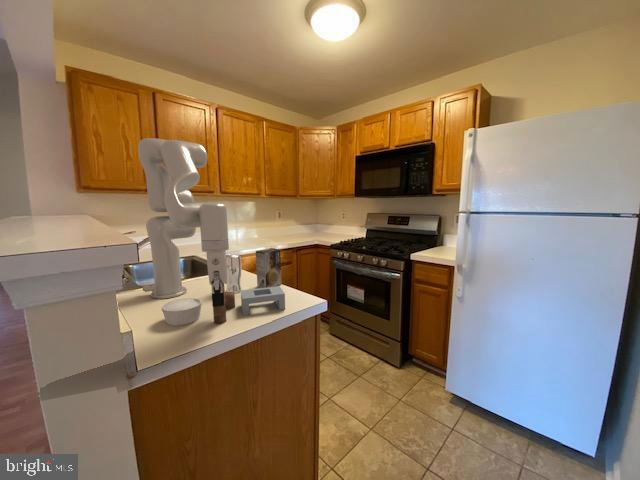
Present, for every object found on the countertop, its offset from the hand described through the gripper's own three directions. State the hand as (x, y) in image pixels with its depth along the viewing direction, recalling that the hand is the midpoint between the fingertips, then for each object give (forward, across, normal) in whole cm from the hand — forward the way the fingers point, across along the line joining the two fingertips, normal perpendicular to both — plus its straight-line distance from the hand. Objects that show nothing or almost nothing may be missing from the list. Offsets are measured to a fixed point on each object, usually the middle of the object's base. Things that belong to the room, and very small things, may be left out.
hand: (218, 300), depth 82 cm
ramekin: (+7, +6, +11) cm, 14 cm away
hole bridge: (+7, +7, -14) cm, 17 cm away
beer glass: (+7, +29, -5) cm, 30 cm away
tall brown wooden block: (+7, 0, 0) cm, 7 cm away
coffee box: (+7, +31, -20) cm, 38 cm away
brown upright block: (+7, +11, -3) cm, 13 cm away
